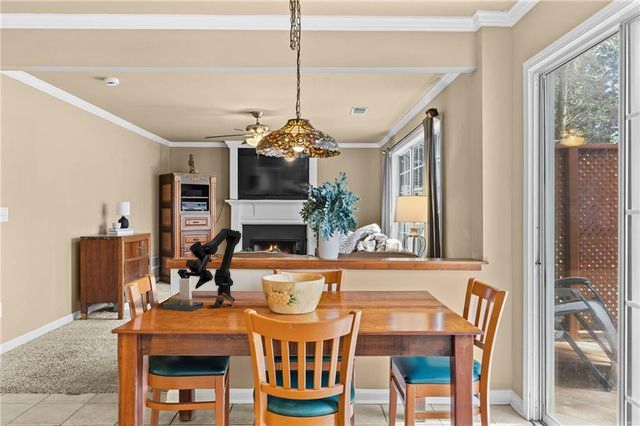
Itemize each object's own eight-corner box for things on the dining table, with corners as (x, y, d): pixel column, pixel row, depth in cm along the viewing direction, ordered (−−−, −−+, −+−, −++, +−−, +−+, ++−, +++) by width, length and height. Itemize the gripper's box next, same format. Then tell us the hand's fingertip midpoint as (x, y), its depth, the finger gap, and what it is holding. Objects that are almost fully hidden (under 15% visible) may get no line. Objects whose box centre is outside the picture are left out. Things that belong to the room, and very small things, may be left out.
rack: (175, 306, 238) (175, 299, 238) (204, 308, 231) (204, 302, 231) (161, 310, 228) (161, 303, 228) (191, 313, 222) (191, 306, 222)
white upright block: (181, 306, 234) (181, 278, 233) (191, 307, 231) (191, 279, 231) (179, 307, 232) (179, 279, 232) (189, 308, 230) (189, 279, 230)
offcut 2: (182, 308, 229) (182, 298, 229) (192, 309, 227) (192, 298, 227) (179, 309, 227) (179, 299, 227) (189, 310, 225) (189, 299, 225)
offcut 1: (172, 307, 231) (171, 297, 231) (181, 308, 229) (181, 298, 229) (169, 308, 229) (169, 298, 229) (178, 309, 227) (178, 298, 227)
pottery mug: (216, 306, 239) (224, 292, 240) (231, 315, 236) (239, 301, 238) (206, 305, 228) (215, 289, 229) (222, 314, 225) (230, 299, 226)
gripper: (179, 253, 242) (165, 277, 232) (209, 254, 235) (196, 279, 225) (189, 266, 249) (175, 290, 239) (218, 268, 242) (206, 292, 232)
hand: (188, 288), depth 233 cm, fingers open, 9 cm apart
